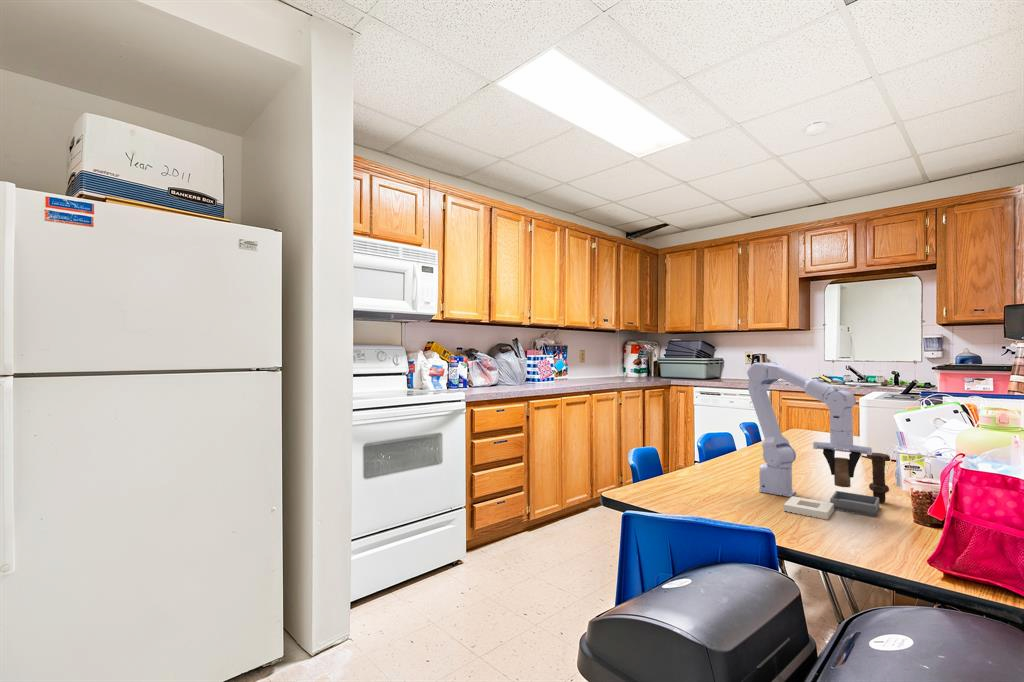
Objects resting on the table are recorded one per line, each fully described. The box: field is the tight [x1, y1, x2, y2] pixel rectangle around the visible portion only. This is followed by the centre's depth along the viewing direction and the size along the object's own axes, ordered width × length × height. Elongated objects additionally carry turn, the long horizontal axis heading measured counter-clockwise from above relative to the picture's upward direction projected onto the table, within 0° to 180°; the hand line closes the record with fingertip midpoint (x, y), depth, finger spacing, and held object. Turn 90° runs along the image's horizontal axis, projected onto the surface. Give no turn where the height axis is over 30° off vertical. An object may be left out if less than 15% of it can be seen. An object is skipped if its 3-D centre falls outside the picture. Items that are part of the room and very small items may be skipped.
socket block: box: [783, 495, 835, 521], centre depth 143 cm, size 11×11×2 cm
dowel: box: [833, 457, 852, 488], centre depth 145 cm, size 4×4×8 cm
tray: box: [829, 490, 880, 517], centre depth 145 cm, size 11×11×3 cm
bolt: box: [866, 452, 891, 504], centre depth 151 cm, size 6×5×15 cm
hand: (842, 475), depth 145 cm, fingers closed on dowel, 4 cm apart
